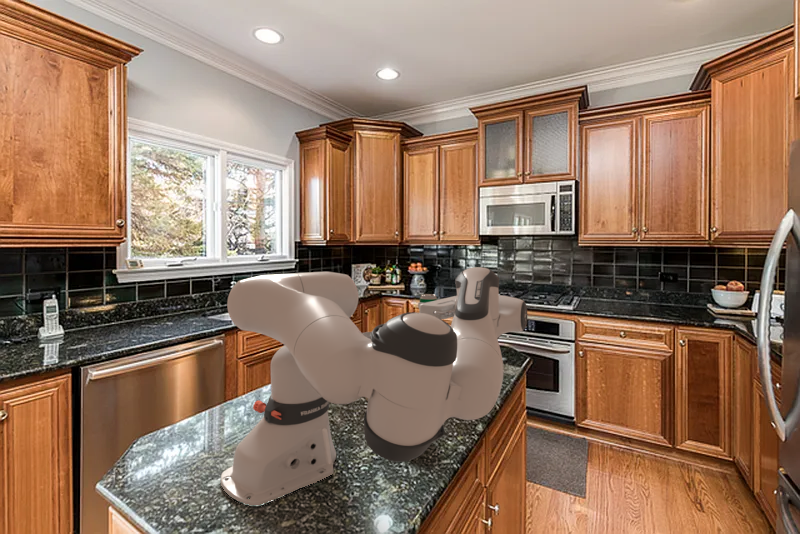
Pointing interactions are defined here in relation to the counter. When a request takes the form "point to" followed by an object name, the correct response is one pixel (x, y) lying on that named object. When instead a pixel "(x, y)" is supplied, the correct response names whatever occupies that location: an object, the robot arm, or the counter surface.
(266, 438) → the robot arm
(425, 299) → the soda can
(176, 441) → the counter surface
